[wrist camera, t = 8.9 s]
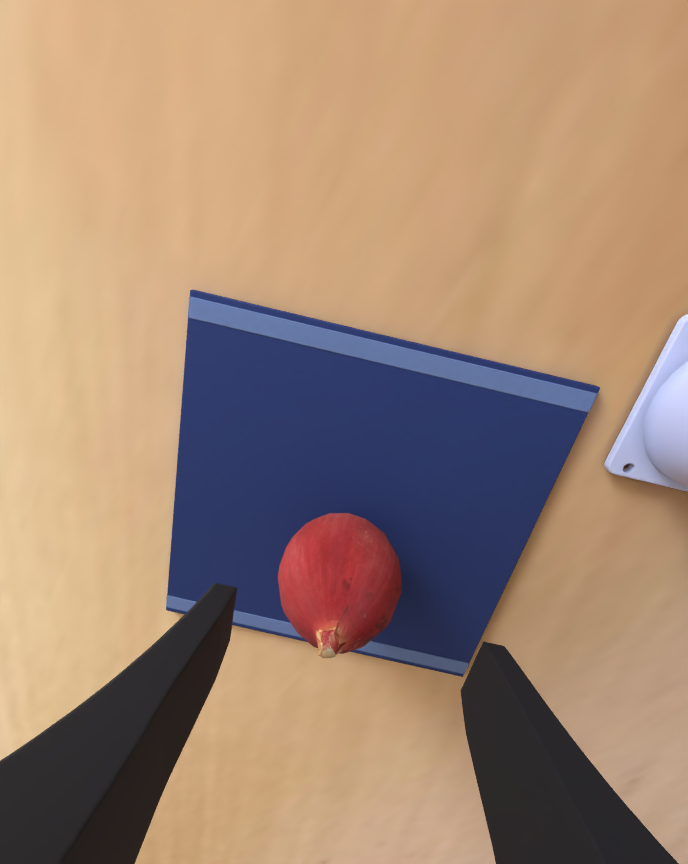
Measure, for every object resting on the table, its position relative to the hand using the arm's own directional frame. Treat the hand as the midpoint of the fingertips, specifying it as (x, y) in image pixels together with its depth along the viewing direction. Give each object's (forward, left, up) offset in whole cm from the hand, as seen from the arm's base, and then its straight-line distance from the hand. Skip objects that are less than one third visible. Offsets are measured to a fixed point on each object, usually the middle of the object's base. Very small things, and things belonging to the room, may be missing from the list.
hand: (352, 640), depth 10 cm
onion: (0, +3, -10) cm, 11 cm away
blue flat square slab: (0, +2, -10) cm, 11 cm away
